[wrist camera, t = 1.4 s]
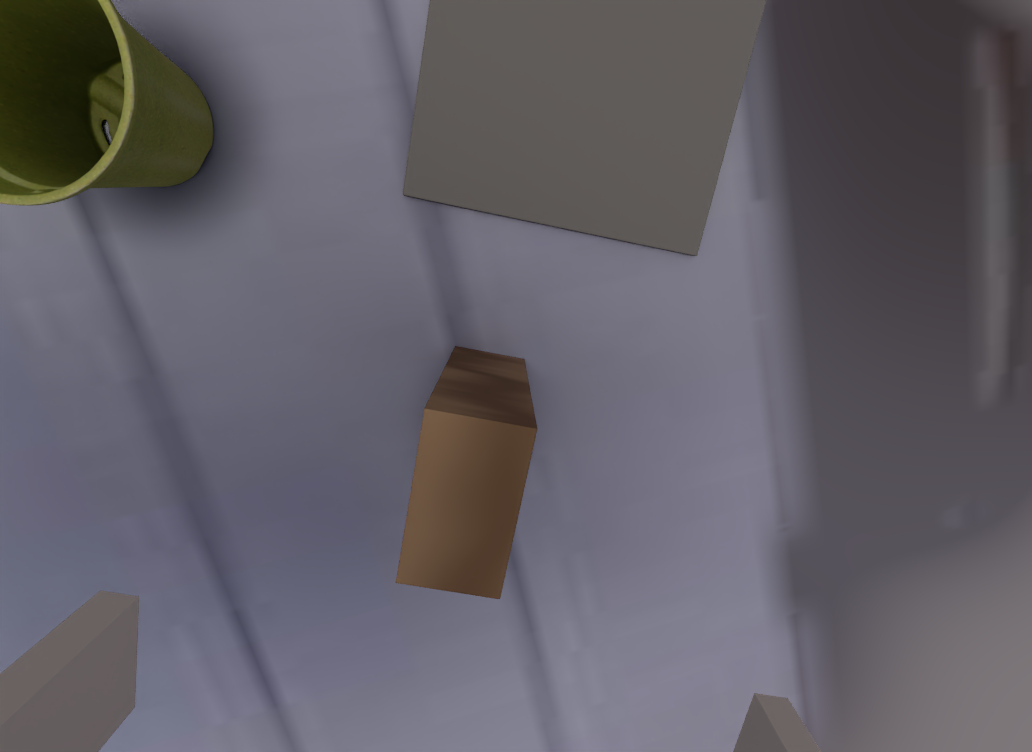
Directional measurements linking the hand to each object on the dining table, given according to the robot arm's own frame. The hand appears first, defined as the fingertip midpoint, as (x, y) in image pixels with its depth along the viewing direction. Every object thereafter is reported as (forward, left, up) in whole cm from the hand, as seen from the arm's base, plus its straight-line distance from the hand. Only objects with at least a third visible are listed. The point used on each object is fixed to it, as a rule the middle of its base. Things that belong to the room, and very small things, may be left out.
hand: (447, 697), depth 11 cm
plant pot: (-19, +12, -20) cm, 30 cm away
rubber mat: (+2, +18, -20) cm, 27 cm away
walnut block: (0, 0, -20) cm, 20 cm away
